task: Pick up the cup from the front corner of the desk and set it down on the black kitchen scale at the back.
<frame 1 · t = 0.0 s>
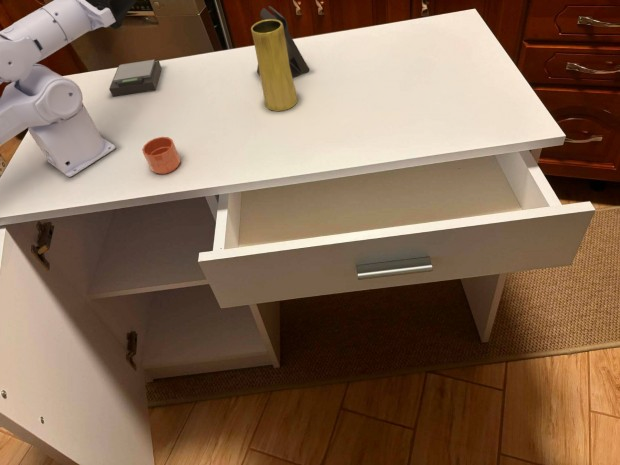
cup: (166, 165, 79), on the table
scale: (137, 82, 100), on the table
vase: (281, 103, 88), on the table
phone stand: (283, 73, 95), on the table
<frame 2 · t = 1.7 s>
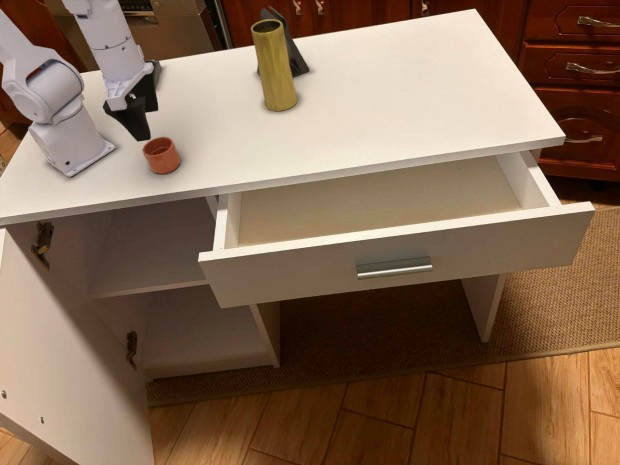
hand: (148, 124, 73), 8 cm above the table, tool pointing down, fingers open, 7 cm apart
nothing on the table moved.
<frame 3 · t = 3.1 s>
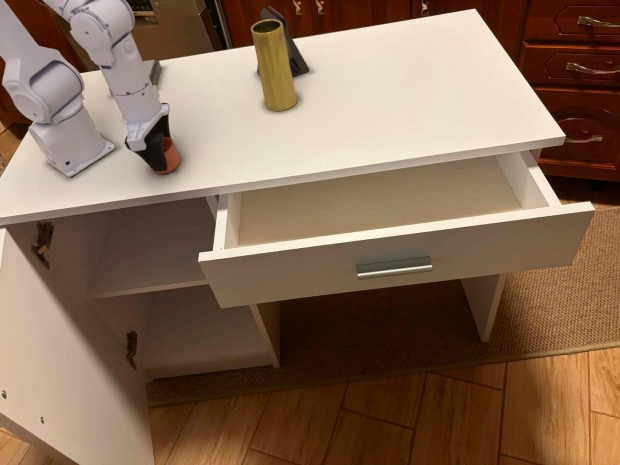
hand: (163, 159, 78), 1 cm above the table, tool pointing down, fingers closed on cup, 5 cm apart
cup: (166, 165, 79), on the table, touching gripper
everything else where it was.
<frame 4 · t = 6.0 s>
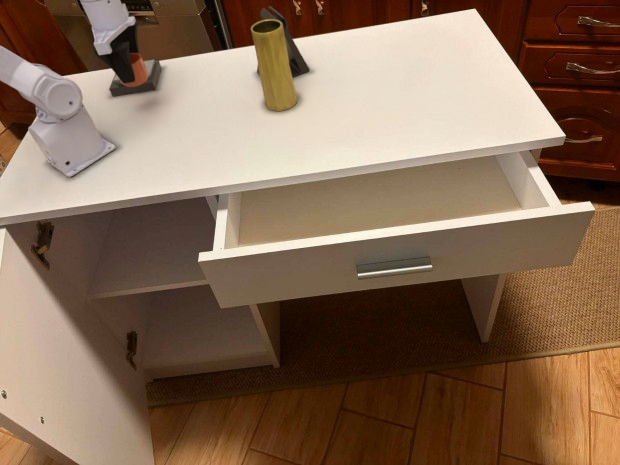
hand: (132, 73, 85), 8 cm above the table, tool pointing down, fingers closed on cup, 5 cm apart
cup: (136, 80, 86), point 7 cm above the table, touching gripper
everything else where it was.
when the fingers open (4 cm above the table, at t = 9.1 s): cup stays where it is, resting on scale.
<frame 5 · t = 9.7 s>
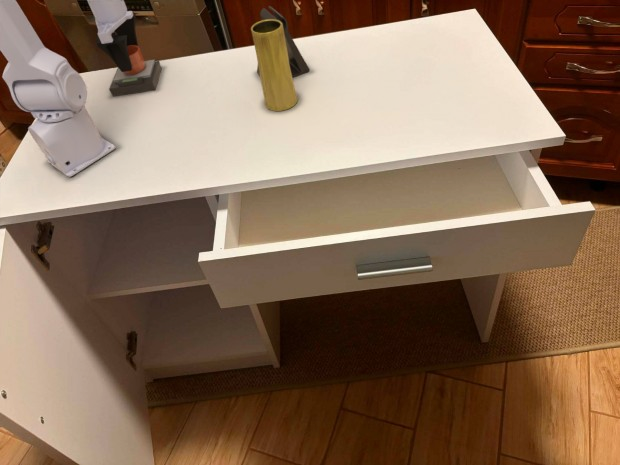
hand: (130, 61, 98), 4 cm above the table, tool pointing down, fingers open, 7 cm apart
cup: (134, 69, 99), point 2 cm above the table, touching scale
everything else where it was.
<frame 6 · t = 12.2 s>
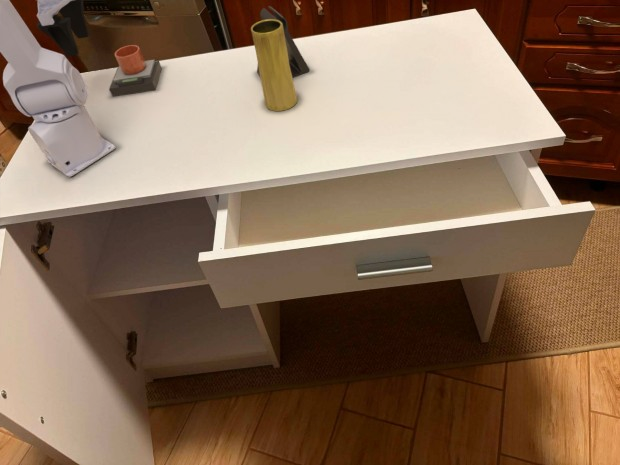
hand: (78, 45, 93), 9 cm above the table, tool pointing down, fingers open, 7 cm apart
nothing on the table moved.
at the end: cup 0.2 cm off-centre on the scale, point 2.4 cm above the scale's base; cup tilted 0°; the gripper is holding nothing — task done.
